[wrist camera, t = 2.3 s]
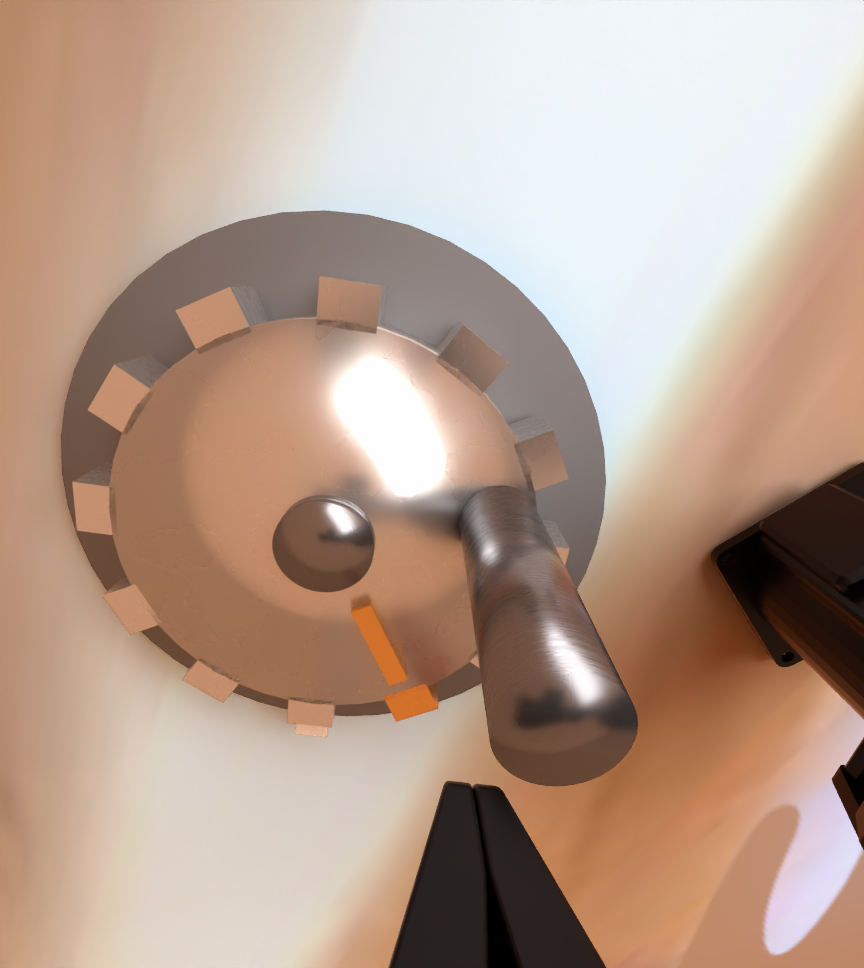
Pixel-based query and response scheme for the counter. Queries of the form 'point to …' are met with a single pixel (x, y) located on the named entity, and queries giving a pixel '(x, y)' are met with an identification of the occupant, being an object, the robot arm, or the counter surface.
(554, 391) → the stand
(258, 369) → the sprocket
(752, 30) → the counter surface
